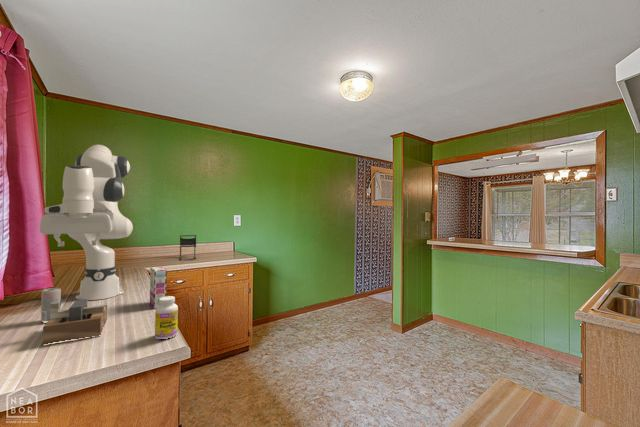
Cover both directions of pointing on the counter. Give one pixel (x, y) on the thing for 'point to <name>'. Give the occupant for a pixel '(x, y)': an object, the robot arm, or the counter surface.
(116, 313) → the counter surface
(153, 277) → the candy bar box
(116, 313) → the counter surface
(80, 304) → the gray block
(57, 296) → the energy drink
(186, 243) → the chair
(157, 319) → the supplement bottle
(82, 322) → the shelf
